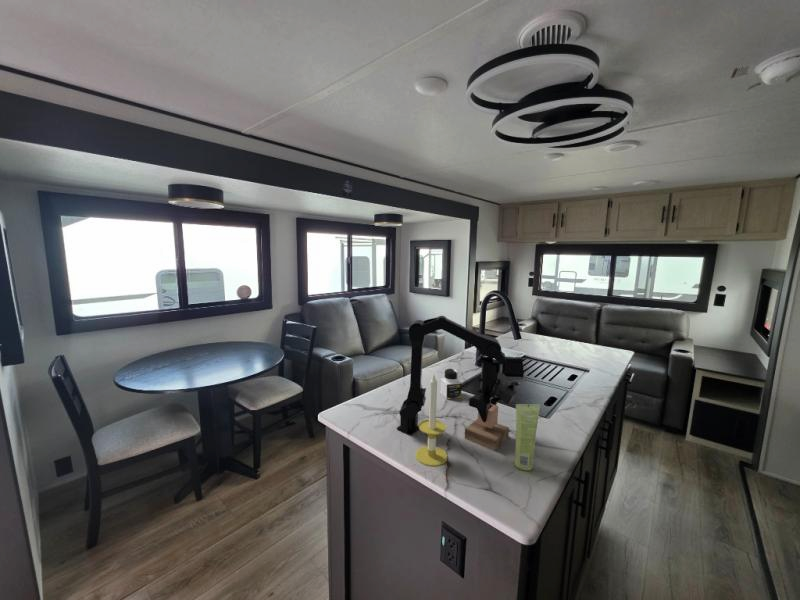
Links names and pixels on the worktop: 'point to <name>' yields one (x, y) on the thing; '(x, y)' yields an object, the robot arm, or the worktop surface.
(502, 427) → the walnut block
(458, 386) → the medicine bottle
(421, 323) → the robot arm
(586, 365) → the worktop surface
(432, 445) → the candle
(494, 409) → the terracotta block
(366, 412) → the worktop surface
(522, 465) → the tube
